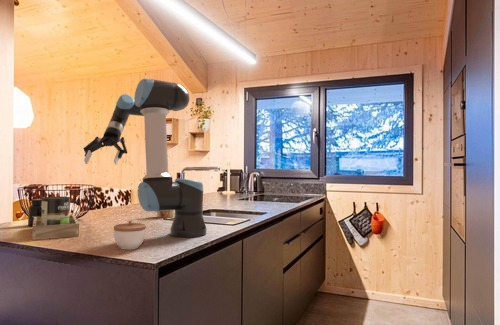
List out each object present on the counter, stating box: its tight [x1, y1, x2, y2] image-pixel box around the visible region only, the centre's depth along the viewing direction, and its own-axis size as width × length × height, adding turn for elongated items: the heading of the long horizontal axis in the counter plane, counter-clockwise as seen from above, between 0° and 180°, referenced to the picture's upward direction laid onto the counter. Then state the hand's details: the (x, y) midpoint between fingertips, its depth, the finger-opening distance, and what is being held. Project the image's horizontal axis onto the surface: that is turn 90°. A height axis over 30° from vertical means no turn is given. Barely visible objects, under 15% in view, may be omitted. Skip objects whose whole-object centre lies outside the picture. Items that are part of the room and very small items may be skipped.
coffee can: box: [41, 196, 71, 226], centre depth 146 cm, size 10×10×14 cm
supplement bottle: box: [27, 198, 42, 227], centre depth 166 cm, size 7×7×12 cm
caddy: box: [31, 214, 80, 241], centre depth 151 cm, size 26×16×5 cm, turn 30°
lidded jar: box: [113, 220, 147, 250], centre depth 126 cm, size 11×11×9 cm
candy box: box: [156, 210, 175, 218], centre depth 198 cm, size 9×4×15 cm, turn 103°
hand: (100, 162), depth 164 cm, fingers open, 13 cm apart
